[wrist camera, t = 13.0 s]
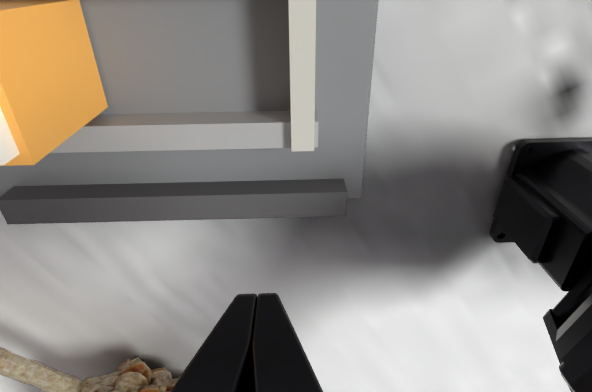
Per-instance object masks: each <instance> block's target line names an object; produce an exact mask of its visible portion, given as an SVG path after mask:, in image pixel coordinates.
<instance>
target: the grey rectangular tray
mask: <svg viewBox="0 0 592 392" xmlns="http://www.w3.org/2000/svg"><path fill="white" fill-rule="evenodd" d="M79 1H80V5H81V9H82V12H83V16H84V20H85V23H86V27H87V31H88V35H89V38H90V42H91V46H92V49H93V53H94V57H95V61H96V64H97V68H98V72H99V75H100V79H101V83H102V86H103V90H104V94H105V98H106V101H107V105H108V108H106V109H105V110H104V111H102V112H101V113H100V114H99V115H97V116H96V117H95V118H93V119H92V120H91V121H90V122H88V123H87V124H86V125H85V126H83V127H82V128H81V129H79V130H78V131H77V132H76V133H74V134H73V135H72V136H70V137H69V138H68V139H67V140H65V141H64V142H63V143H62V144H60V145H59V146H58V147H56V148H55V149H54V150H53V151H51V152H50V153H49V154H47V155H46V156H45V157H44V158H42V159H41V160H40V161H39V162H37V163H36V164H35V165H12V166H0V197H1V196H2V195H3V194H5V193H6V192H7V191H8V190H10V189H11V188H12V187H13V186H44V185H88V184H132V183H176V182H219V181H263V180H307V179H344V182H345V185H346V189H347V198H361V193H362V181H363V170H364V159H365V147H366V136H367V124H368V113H369V101H370V90H371V78H372V67H373V56H374V44H375V33H376V21H377V10H378V0H79Z"/></svg>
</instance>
